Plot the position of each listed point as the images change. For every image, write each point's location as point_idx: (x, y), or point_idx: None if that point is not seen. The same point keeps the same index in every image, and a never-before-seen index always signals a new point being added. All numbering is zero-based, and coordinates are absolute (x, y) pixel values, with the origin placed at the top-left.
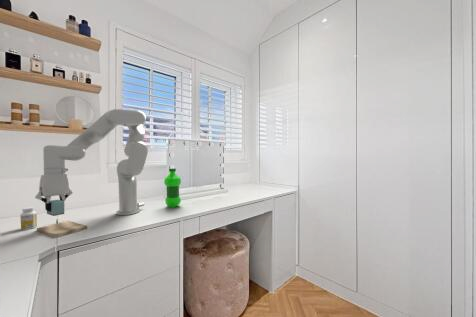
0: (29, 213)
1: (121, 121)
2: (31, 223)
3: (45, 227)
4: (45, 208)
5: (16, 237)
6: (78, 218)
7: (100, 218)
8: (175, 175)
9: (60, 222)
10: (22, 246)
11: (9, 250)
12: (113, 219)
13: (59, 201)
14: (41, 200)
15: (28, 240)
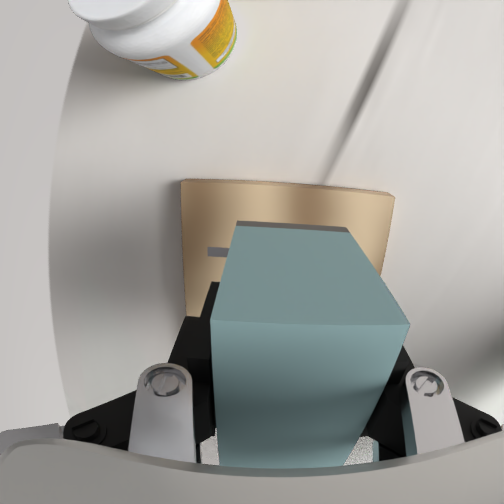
0: (127, 48)
1: None
2: (177, 74)
3: (219, 229)
4: (184, 323)
5: (85, 213)
6: (476, 149)
7: (489, 299)
8: None
9: (342, 194)
10: (96, 369)
11: (67, 364)
12: (470, 373)
13: (304, 463)
14: (92, 417)
15: (115, 326)
